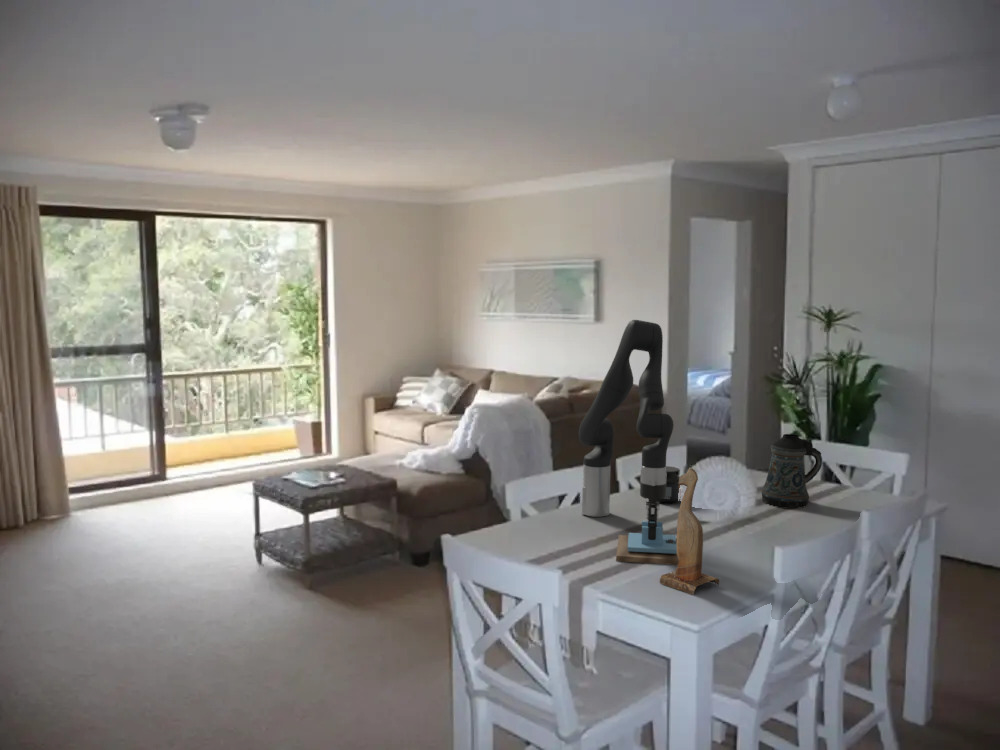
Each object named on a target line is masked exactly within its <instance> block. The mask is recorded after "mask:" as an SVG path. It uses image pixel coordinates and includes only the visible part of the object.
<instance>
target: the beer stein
mask: <svg viewBox="0 0 1000 750" xmlns="http://www.w3.org/2000/svg"><path fill="white" fill-rule="evenodd" d="M799 436H800V435H798V434H793V433H792V434H791V433H784V434H783V435H782V437H780V439H778V440H777V441H774V442H773V443H772V444H771V445H770V451H771V458H770V462H769V467H768V472H767V476H766V480H765V482H764V485H763V488H762V489H761V497H762V499H761V500H762V502H763V504H765V505H767V504H769V505H768V506H771V505H773V506H772V507H775V506H778V507H777V508H781V507H787V508H786V509H799V508H798V507H802V508H805V507H807V506H808V503H809V499H810V495H809V492H808V488H807V486H806V484H807V483H809V482H810V481H811V480H813V479H814V478H815V476H817V475H818V473H819V472H820V470H821V468H822V465H823V457H822V452H821V451H820V450H818V449H817V448H816V447H813V446H814V445H813V443H812V442H811V441H810V440H808V439H802V438H800V437H799ZM805 456H812V457H814V459H815V463H814V465H813V467H812V468H811V469H810V470H809V471H808V472H807V473H806V471H805V469H806V468H805V459H804V458H805ZM806 505H807V506H806ZM804 506H805V507H804Z"/></svg>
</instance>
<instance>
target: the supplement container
mask: <svg viewBox="0 0 1000 750" xmlns="http://www.w3.org/2000/svg"><path fill="white" fill-rule="evenodd" d="M666 473H667V478H666V497H665V498H663V499H657V502H660V503H659V504H663V505H673V504H678V503H679V502H680V501H678V493H679V488H680V485H679V484H678V483H679V478H680V476H681V469H680V468H679V467H675V466H670V465H669V466H668V465H666Z"/></svg>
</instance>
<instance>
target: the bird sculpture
mask: <svg viewBox="0 0 1000 750" xmlns="http://www.w3.org/2000/svg"><path fill="white" fill-rule="evenodd" d="M679 476H680V478H679V483H678V484H679V485H681V486H685V487H686V489H685V491H684V493H683V496H682V500H681V502H680V506H679V510H678V515H677V524H676V525H677V529H676V531H677V532H676V538H677V556H678V560H679V564H678V565H676V568H675V570H673V571H671V572H668V573H665V574H661V575H660V578H659V584H660V585H663V586H666V587H670V588H672V589H675V590H678V591H681V592H684V593H686V594H689V595H694V594H695V590H696V589H697V587H698V586H701V585H703V584H706V583H712V584H713V583H714V584H715V585H718V586H719V585H720V579H719V578H717V577H715V576H711V575H708V574H704V573H702V571H703V570H702V569H703V568H702V567H703V553H704V552H703V551H704V550H703V549H704V530H703V526H702V524H701V523H700V520H699V518H698V517H697V516H696V515H695V513H694V512H693V511H692V509H693V499H694V493H695V490H696V487H697V483H698V481H699V477H698V473H697V471H696V470H695V469H694V468H693V467H689V468H688V470H687V472H686V473H683V474H682V475H681V474H680V475H679Z"/></svg>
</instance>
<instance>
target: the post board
mask: <svg viewBox="0 0 1000 750" xmlns="http://www.w3.org/2000/svg"><path fill="white" fill-rule="evenodd" d="M617 540H618V541H617V547H616V555H615V557H616V558H615V561H616V562H629V563H646V564H657V565H659V564H660V565H673V566H674V565H675V566H678V564H679V560H678V556H677V554H671V553H652V552H633V551H628V535H624V534H623V535H622V534H619V535H618V539H617ZM668 543H671V544H674V540H672V539H668ZM676 545H677V537H676Z"/></svg>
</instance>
